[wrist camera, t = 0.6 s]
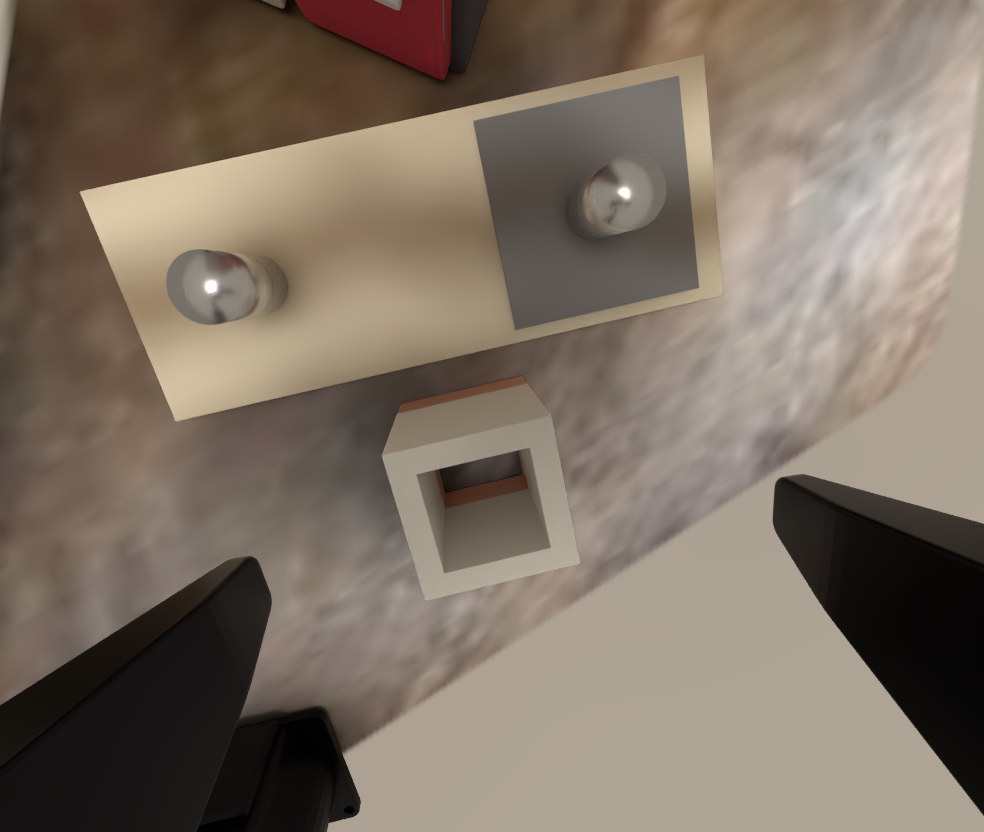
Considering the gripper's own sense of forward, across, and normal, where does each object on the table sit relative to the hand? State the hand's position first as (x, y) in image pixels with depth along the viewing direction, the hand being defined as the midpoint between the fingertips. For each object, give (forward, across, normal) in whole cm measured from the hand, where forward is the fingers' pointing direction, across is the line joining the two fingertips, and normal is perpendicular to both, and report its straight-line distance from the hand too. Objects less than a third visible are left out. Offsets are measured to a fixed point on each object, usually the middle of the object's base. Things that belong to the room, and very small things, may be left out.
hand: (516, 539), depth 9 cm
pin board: (+12, +2, -4) cm, 13 cm away
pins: (+12, +2, -4) cm, 13 cm away
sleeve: (+12, +1, +3) cm, 12 cm away
